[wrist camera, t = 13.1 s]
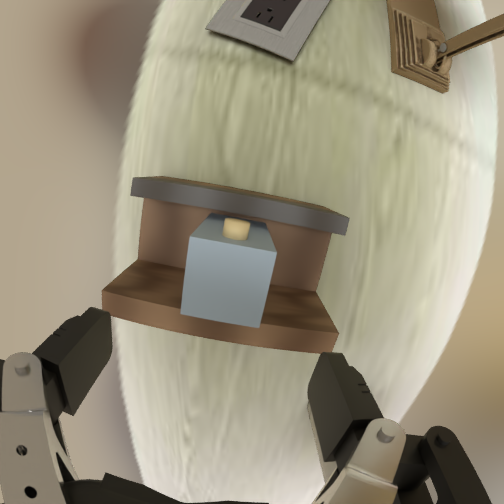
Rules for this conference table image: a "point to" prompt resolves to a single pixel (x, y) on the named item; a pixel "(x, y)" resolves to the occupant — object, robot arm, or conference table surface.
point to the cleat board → (175, 255)
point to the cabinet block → (228, 270)
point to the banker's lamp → (430, 42)
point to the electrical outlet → (269, 23)
